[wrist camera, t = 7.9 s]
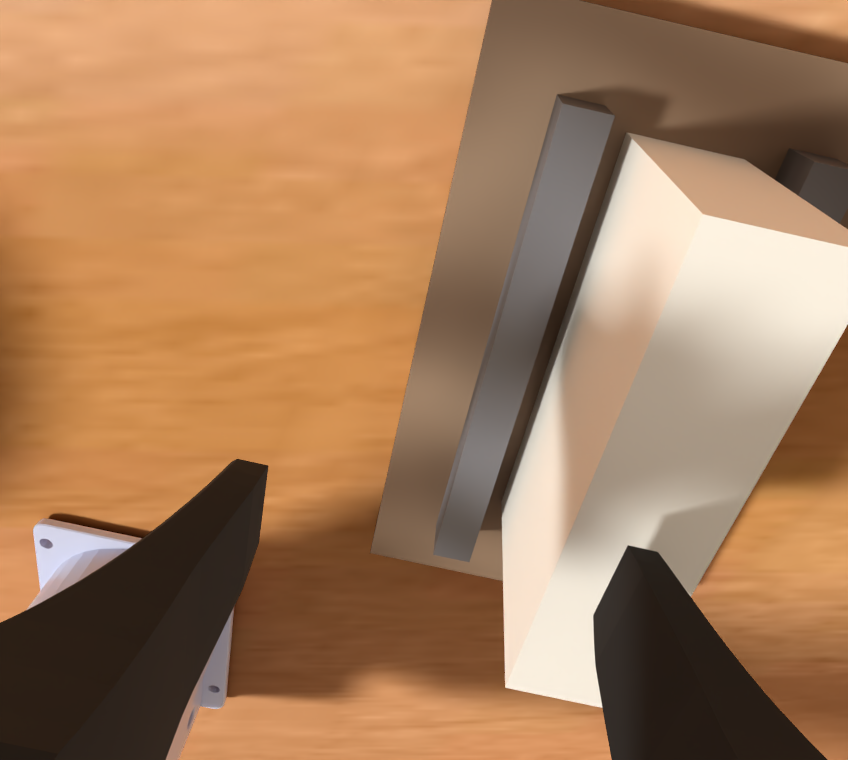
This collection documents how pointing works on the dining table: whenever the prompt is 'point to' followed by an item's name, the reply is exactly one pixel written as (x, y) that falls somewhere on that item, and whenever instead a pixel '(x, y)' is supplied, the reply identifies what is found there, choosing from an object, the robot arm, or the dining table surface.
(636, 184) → the ivory slab
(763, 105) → the ledge board
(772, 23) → the dining table surface
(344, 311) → the dining table surface
